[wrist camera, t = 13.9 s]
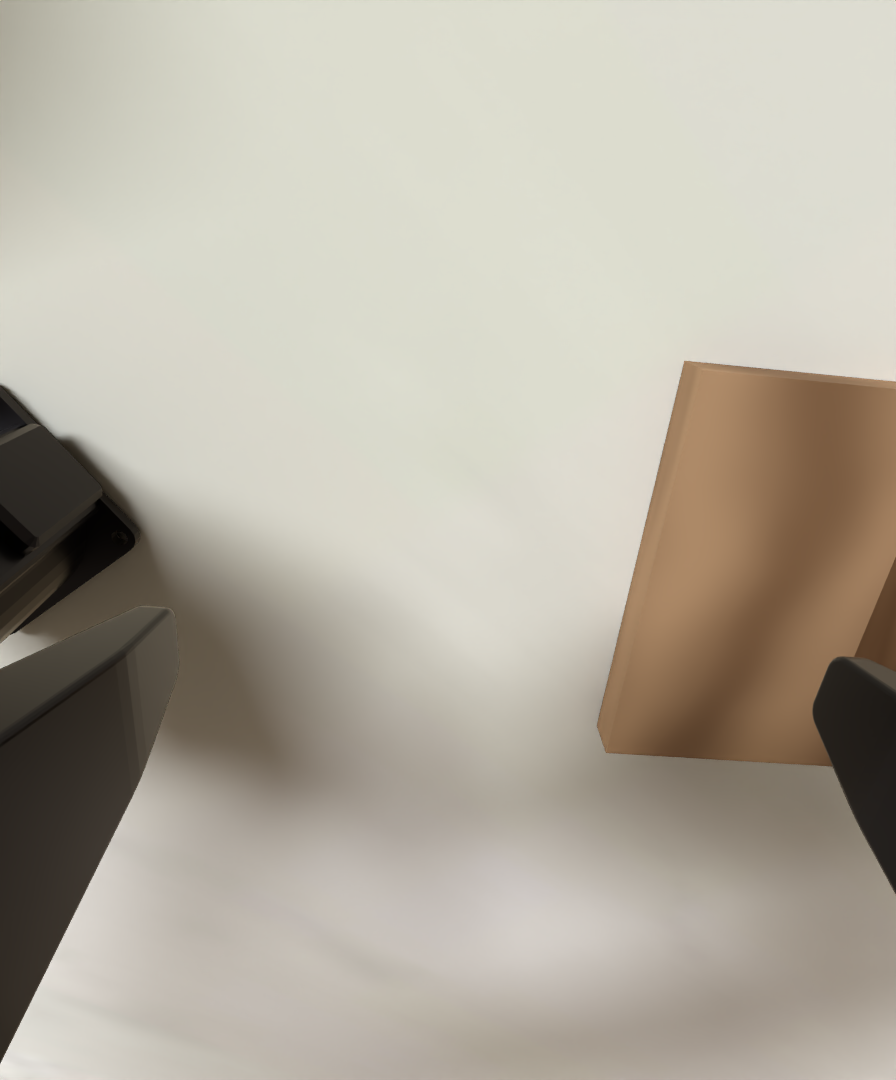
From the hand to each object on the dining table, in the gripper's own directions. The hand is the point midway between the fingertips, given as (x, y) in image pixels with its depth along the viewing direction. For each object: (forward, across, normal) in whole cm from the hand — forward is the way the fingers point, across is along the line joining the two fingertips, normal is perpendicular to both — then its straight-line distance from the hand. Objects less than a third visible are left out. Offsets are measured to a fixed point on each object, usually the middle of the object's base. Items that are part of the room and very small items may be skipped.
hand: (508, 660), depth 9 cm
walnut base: (+13, -16, +5) cm, 22 cm away
